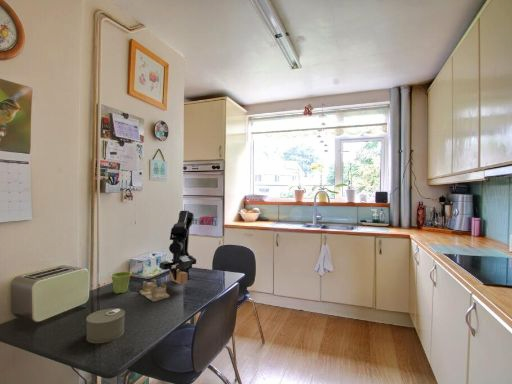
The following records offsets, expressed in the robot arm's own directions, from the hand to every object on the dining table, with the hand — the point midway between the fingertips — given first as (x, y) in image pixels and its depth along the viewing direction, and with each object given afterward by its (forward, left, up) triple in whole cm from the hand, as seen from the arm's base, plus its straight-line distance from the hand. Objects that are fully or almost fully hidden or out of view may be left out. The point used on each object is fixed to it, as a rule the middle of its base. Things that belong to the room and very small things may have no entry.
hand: (178, 279), depth 142 cm
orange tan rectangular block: (0, 0, -1) cm, 1 cm away
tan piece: (0, -13, -5) cm, 14 cm away
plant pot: (-16, -23, -5) cm, 28 cm away
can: (+24, -42, -5) cm, 49 cm away
